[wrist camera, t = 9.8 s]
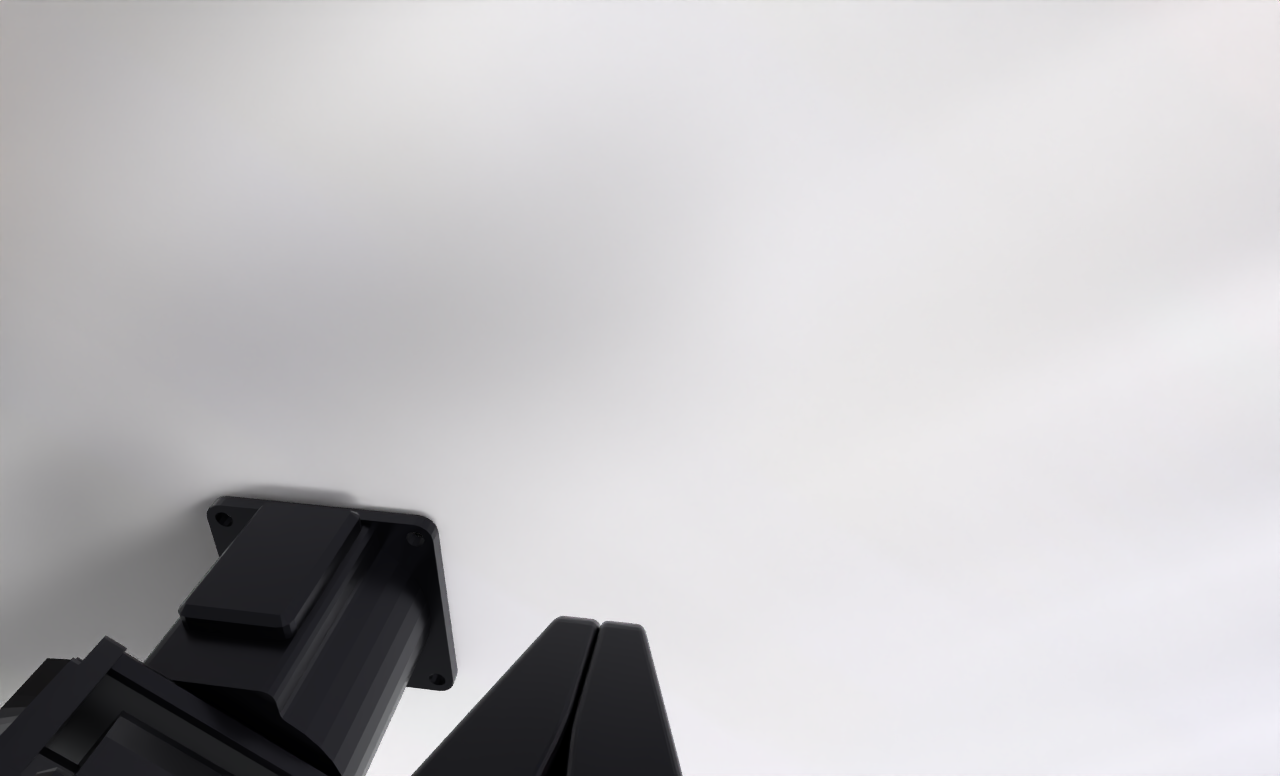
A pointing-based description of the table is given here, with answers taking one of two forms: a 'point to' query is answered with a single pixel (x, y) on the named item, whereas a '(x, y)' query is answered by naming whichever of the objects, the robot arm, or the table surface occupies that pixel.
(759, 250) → the table surface
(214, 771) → the robot arm
